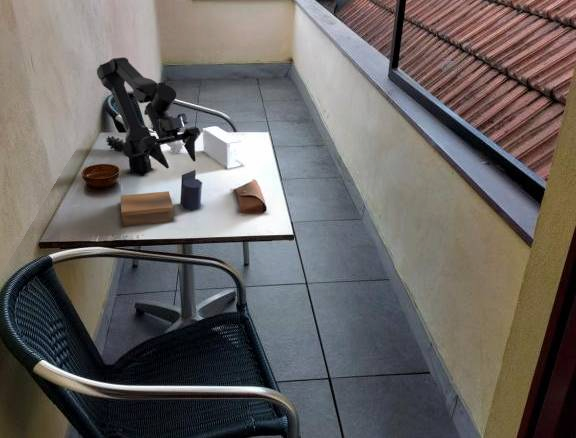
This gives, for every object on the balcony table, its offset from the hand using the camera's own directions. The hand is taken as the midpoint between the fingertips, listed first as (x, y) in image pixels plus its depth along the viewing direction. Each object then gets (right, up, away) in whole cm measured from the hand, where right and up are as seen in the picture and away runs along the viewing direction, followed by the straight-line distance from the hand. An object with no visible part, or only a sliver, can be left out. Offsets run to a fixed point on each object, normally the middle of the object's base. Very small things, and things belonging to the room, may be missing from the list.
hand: (181, 164), depth 163 cm
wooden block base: (-10, -14, -2) cm, 17 cm away
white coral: (-9, +12, +40) cm, 43 cm away
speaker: (+3, -13, +2) cm, 13 cm away
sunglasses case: (+20, -11, +6) cm, 23 cm away
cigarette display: (+7, +6, +38) cm, 39 cm away
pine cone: (-29, +11, +39) cm, 50 cm away
